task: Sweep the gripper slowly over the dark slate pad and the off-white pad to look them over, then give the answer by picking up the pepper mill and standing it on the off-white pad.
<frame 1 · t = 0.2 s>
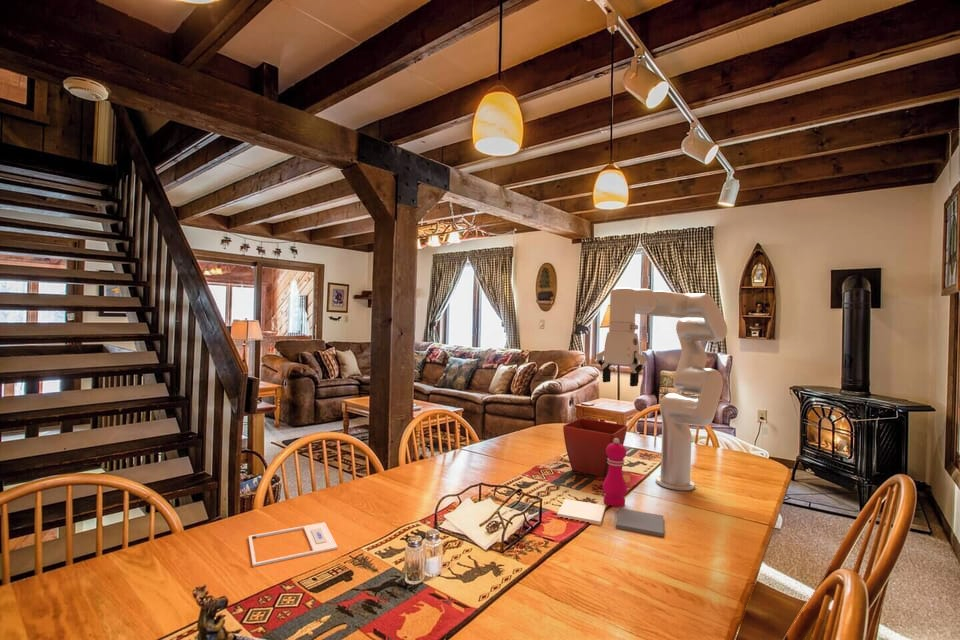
hand: (619, 384, 143), 37 cm above the table, tool pointing down, fingers open, 9 cm apart
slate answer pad: (640, 523, 129), on the table
photo frame: (292, 545, 111), on the table
plant pot: (594, 470, 175), on the table
pepper mill: (614, 503, 143), on the table
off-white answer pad: (581, 512, 135), on the table
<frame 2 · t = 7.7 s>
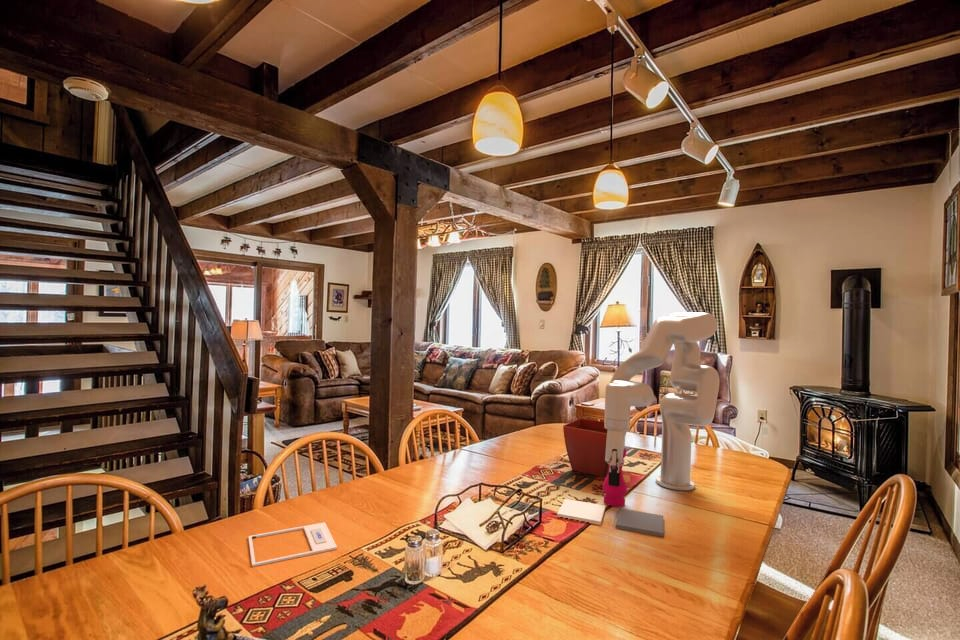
hand: (614, 481, 143), 7 cm above the table, tool pointing down, fingers closed on pepper mill, 6 cm apart
pepper mill: (614, 503, 143), on the table, touching gripper
everything else where it was.
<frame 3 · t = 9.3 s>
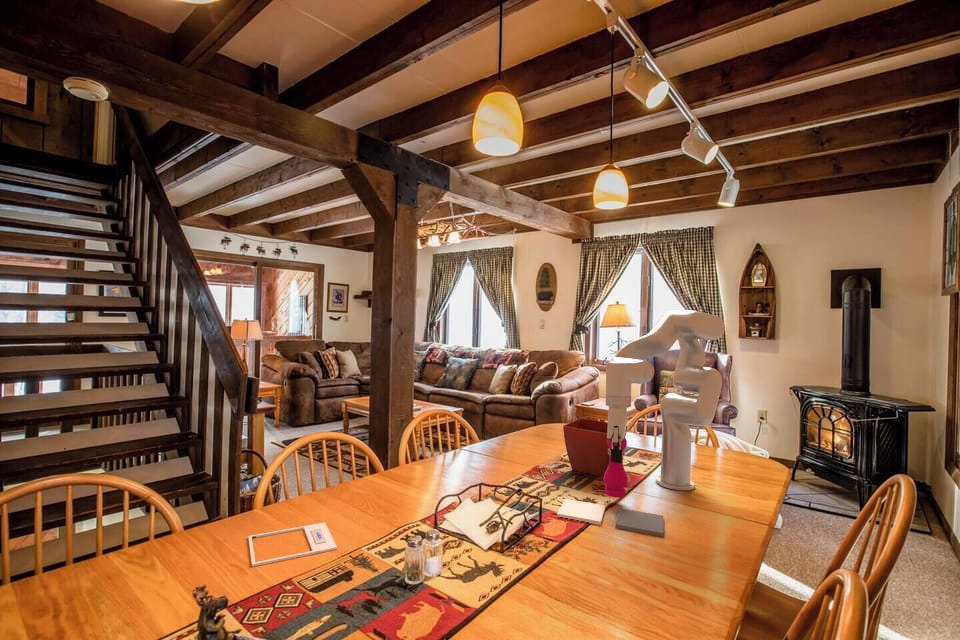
hand: (617, 458, 144), 14 cm above the table, tool pointing down, fingers closed on pepper mill, 5 cm apart
pepper mill: (615, 494, 143), point 3 cm above the table, touching gripper
everything else where it was.
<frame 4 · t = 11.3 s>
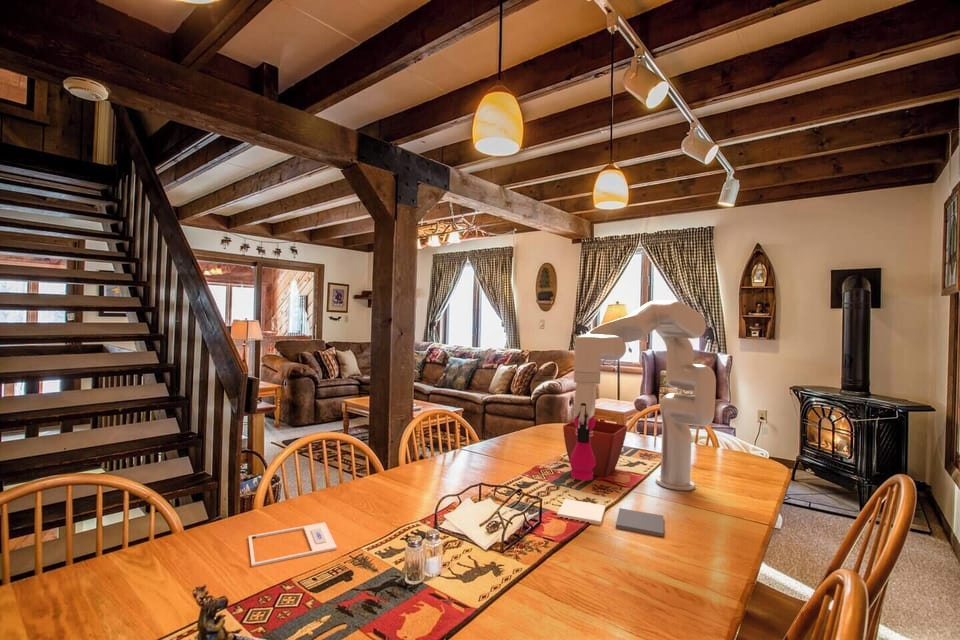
hand: (584, 439, 135), 21 cm above the table, tool pointing down, fingers closed on pepper mill, 5 cm apart
pepper mill: (581, 477, 134), point 10 cm above the table, touching gripper
everything else where it was.
when the fingers open (11 cm above the table, at t = 13.5 s): pepper mill stays where it is, resting on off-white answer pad.
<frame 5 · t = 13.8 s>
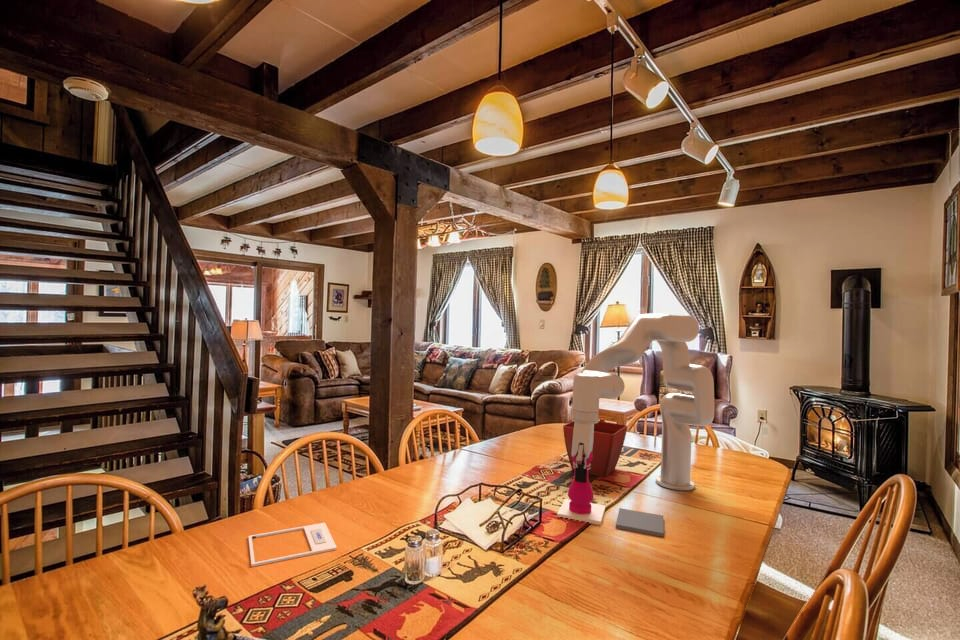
hand: (582, 477, 135), 10 cm above the table, tool pointing down, fingers open, 5 cm apart
pepper mill: (580, 510, 134), point 1 cm above the table, touching gripper, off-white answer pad
everything else where it was.
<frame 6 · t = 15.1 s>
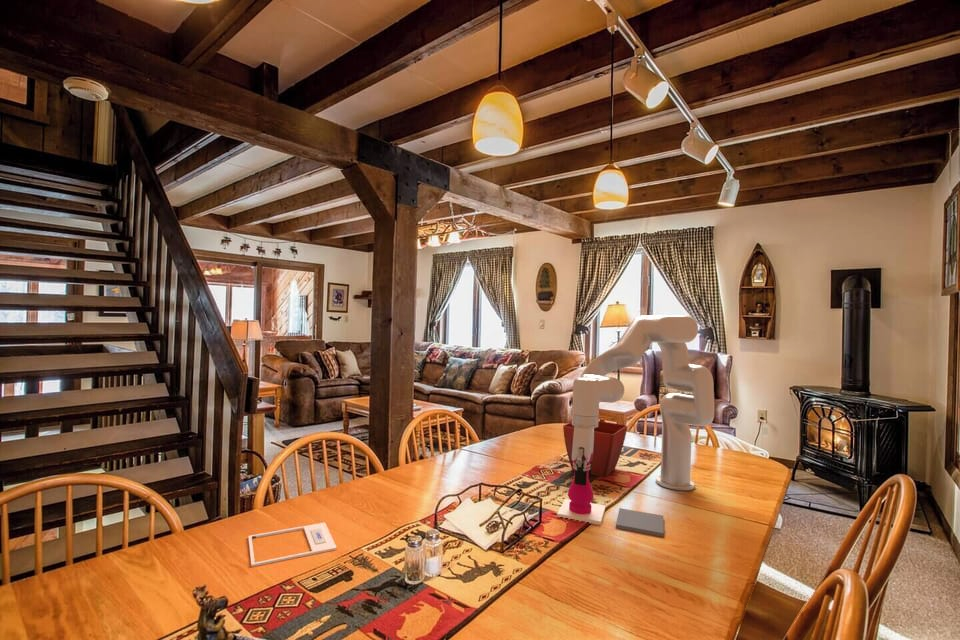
hand: (583, 479, 135), 10 cm above the table, tool pointing down, fingers open, 9 cm apart
pepper mill: (580, 510, 134), point 1 cm above the table, touching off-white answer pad
everything else where it was.
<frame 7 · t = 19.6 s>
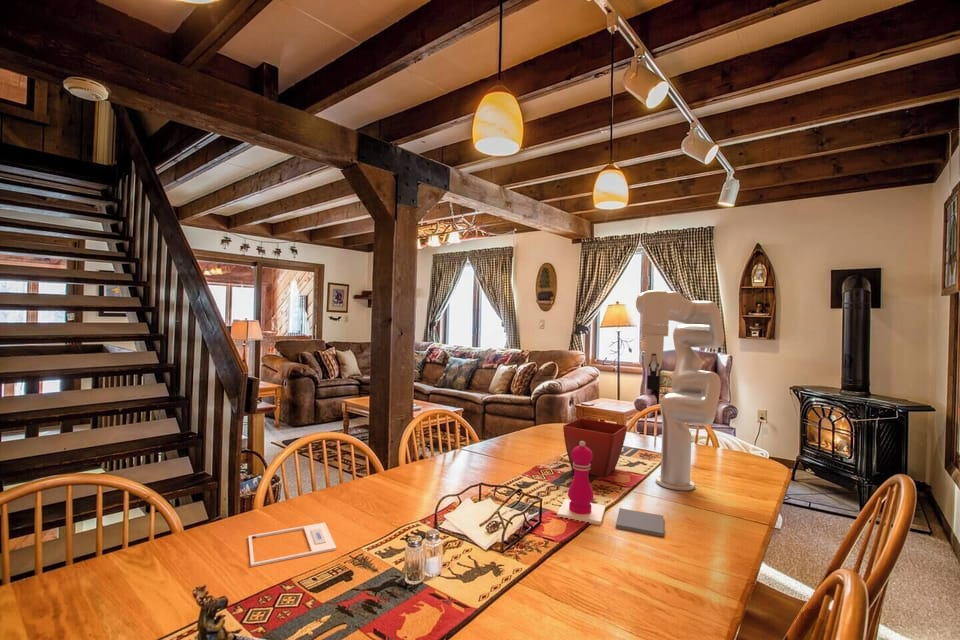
hand: (653, 387, 141), 36 cm above the table, tool pointing down, fingers open, 9 cm apart
nothing on the table moved.
at the end: pepper mill inside the target area on the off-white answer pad (0.8 cm from its centre), point 0.8 cm above the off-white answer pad's base; pepper mill tilted 0°; the gripper is holding nothing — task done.
